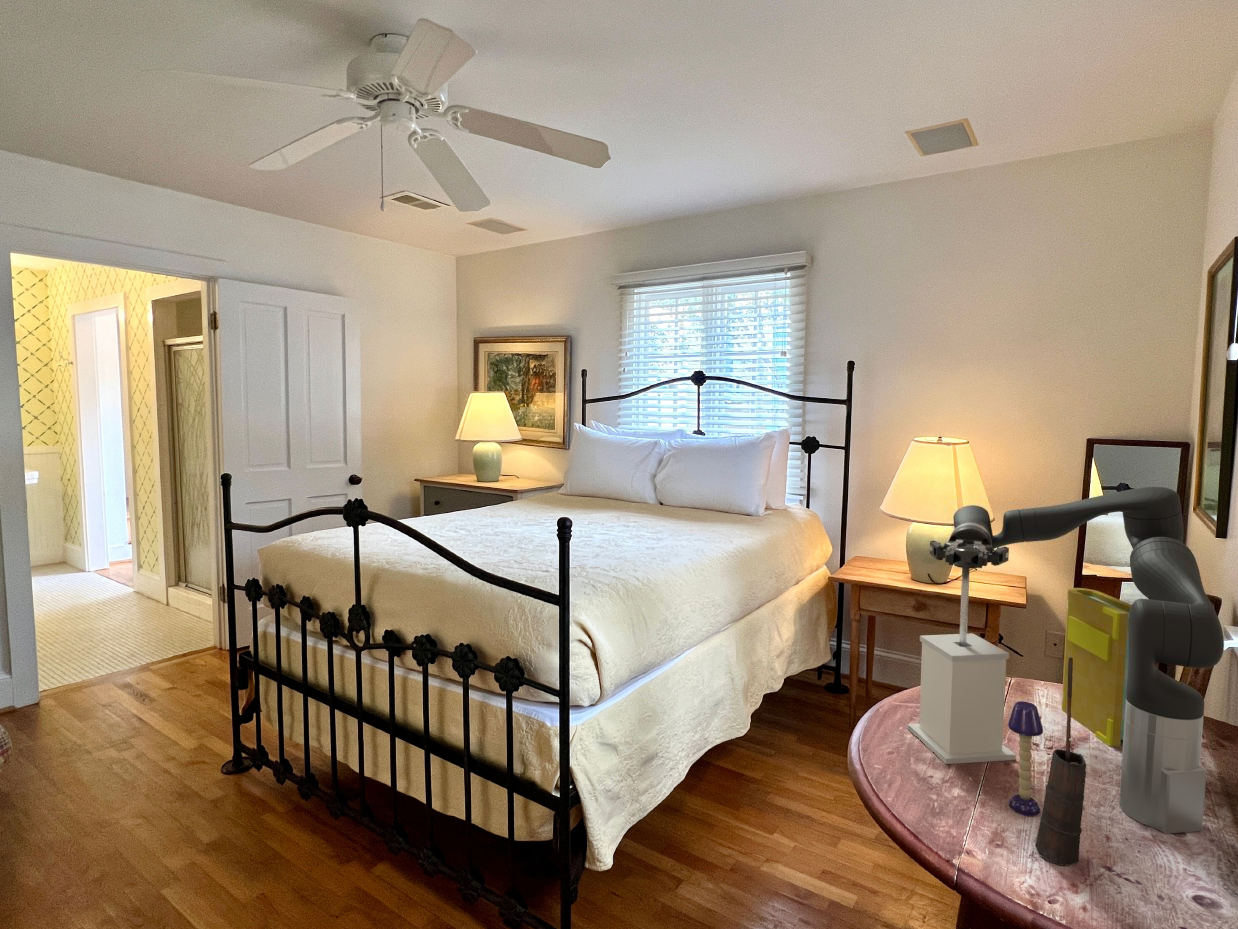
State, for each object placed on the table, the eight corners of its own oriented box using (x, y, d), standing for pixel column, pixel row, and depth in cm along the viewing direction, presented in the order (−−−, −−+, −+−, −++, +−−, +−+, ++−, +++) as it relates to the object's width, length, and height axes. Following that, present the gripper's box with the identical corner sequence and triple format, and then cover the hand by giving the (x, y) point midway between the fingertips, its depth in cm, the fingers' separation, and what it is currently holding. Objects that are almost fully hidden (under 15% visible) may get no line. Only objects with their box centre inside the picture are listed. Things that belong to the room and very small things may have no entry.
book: (1146, 746, 126) (1155, 613, 123) (1109, 746, 126) (1117, 613, 124) (1086, 705, 143) (1092, 588, 140) (1053, 705, 143) (1059, 588, 140)
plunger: (995, 696, 123) (1001, 553, 120) (953, 698, 122) (958, 555, 120) (968, 678, 131) (973, 544, 128) (928, 680, 130) (933, 545, 128)
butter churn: (1103, 893, 89) (1115, 683, 86) (1018, 865, 94) (1027, 667, 92) (1102, 854, 96) (1114, 660, 94) (1024, 830, 102) (1033, 646, 99)
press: (1015, 759, 121) (1020, 655, 120) (945, 764, 120) (949, 659, 118) (971, 725, 134) (974, 631, 133) (907, 729, 133) (910, 633, 131)
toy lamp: (1005, 811, 106) (1009, 707, 105) (1004, 796, 110) (1008, 696, 109) (1041, 819, 104) (1046, 714, 103) (1039, 804, 108) (1044, 701, 107)
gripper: (931, 522, 140) (922, 536, 125) (1012, 527, 133) (1012, 544, 118) (930, 558, 140) (921, 577, 125) (1010, 565, 133) (1010, 586, 118)
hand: (965, 561), depth 122 cm, fingers closed on plunger, 4 cm apart
